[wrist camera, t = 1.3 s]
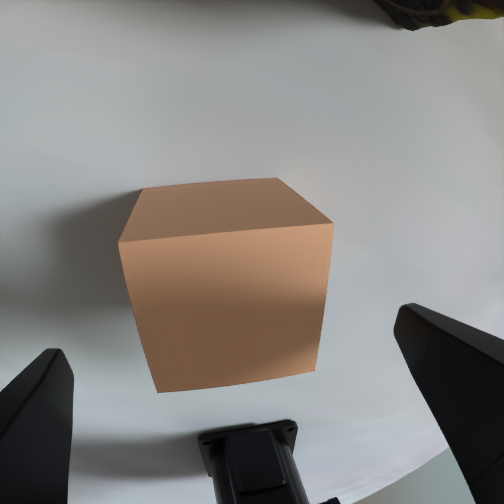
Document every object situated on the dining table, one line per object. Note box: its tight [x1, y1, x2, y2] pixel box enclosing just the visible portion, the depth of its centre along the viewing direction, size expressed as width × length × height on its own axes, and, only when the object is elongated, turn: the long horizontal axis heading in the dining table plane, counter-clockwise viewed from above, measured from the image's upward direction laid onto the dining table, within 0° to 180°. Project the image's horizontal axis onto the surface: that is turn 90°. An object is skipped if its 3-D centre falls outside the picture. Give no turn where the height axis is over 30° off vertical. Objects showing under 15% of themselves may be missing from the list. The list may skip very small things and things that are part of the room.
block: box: [118, 178, 334, 393], centre depth 10 cm, size 5×5×5 cm
